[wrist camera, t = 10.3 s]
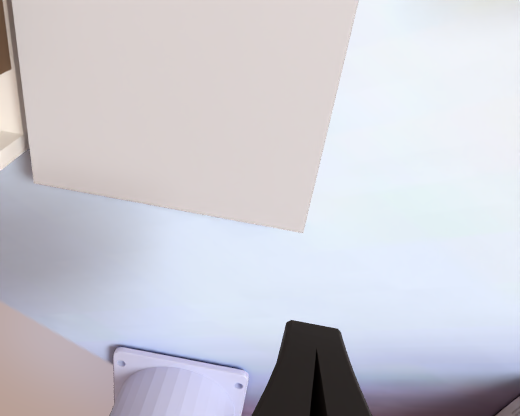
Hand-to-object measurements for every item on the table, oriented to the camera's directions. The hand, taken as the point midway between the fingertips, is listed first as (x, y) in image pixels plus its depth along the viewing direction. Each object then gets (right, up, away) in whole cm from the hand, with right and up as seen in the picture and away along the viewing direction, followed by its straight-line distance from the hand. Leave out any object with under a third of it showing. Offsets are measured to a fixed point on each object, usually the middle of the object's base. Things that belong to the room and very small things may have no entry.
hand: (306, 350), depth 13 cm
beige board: (-4, +10, +6) cm, 13 cm away
